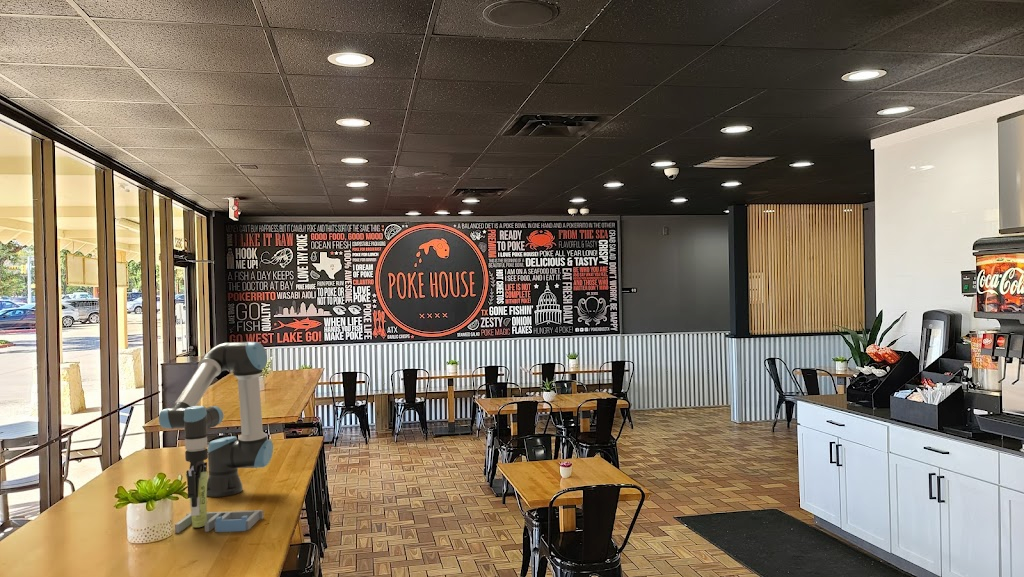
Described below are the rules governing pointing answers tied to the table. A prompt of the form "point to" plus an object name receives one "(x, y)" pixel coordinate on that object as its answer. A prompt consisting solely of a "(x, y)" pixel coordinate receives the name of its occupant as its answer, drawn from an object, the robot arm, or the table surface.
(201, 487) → the tube
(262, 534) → the table surface
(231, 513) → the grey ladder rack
